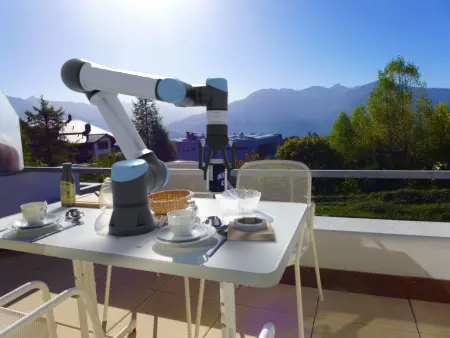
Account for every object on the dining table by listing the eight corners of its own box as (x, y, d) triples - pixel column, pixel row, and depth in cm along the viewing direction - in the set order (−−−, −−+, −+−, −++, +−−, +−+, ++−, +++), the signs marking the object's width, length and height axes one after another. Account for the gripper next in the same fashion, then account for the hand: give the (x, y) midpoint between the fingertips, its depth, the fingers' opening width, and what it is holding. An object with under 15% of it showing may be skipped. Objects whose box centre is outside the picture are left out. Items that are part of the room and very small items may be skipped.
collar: (233, 231, 99) (233, 225, 99) (234, 222, 109) (234, 216, 109) (267, 232, 98) (267, 225, 98) (265, 222, 109) (265, 216, 108)
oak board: (227, 240, 98) (227, 233, 97) (229, 226, 111) (229, 221, 111) (273, 240, 97) (273, 233, 96) (270, 227, 111) (270, 221, 110)
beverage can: (218, 195, 112) (218, 160, 110) (205, 193, 115) (205, 159, 114) (228, 192, 116) (228, 159, 115) (215, 191, 120) (215, 158, 118)
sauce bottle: (57, 207, 148) (54, 163, 146) (68, 204, 154) (65, 162, 152) (69, 207, 146) (66, 163, 144) (79, 204, 152) (76, 162, 150)
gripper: (188, 123, 110) (189, 190, 112) (243, 123, 109) (243, 191, 111) (192, 123, 117) (192, 187, 120) (243, 123, 116) (243, 187, 119)
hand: (217, 189), depth 115 cm, fingers closed on beverage can, 6 cm apart
